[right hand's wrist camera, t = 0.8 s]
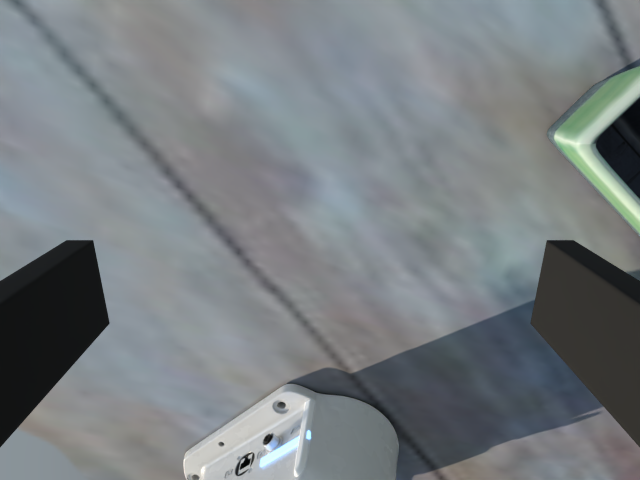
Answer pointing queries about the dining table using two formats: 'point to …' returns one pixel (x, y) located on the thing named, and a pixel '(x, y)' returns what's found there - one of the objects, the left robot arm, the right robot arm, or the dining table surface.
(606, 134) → the planter
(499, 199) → the dining table surface
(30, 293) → the right robot arm
